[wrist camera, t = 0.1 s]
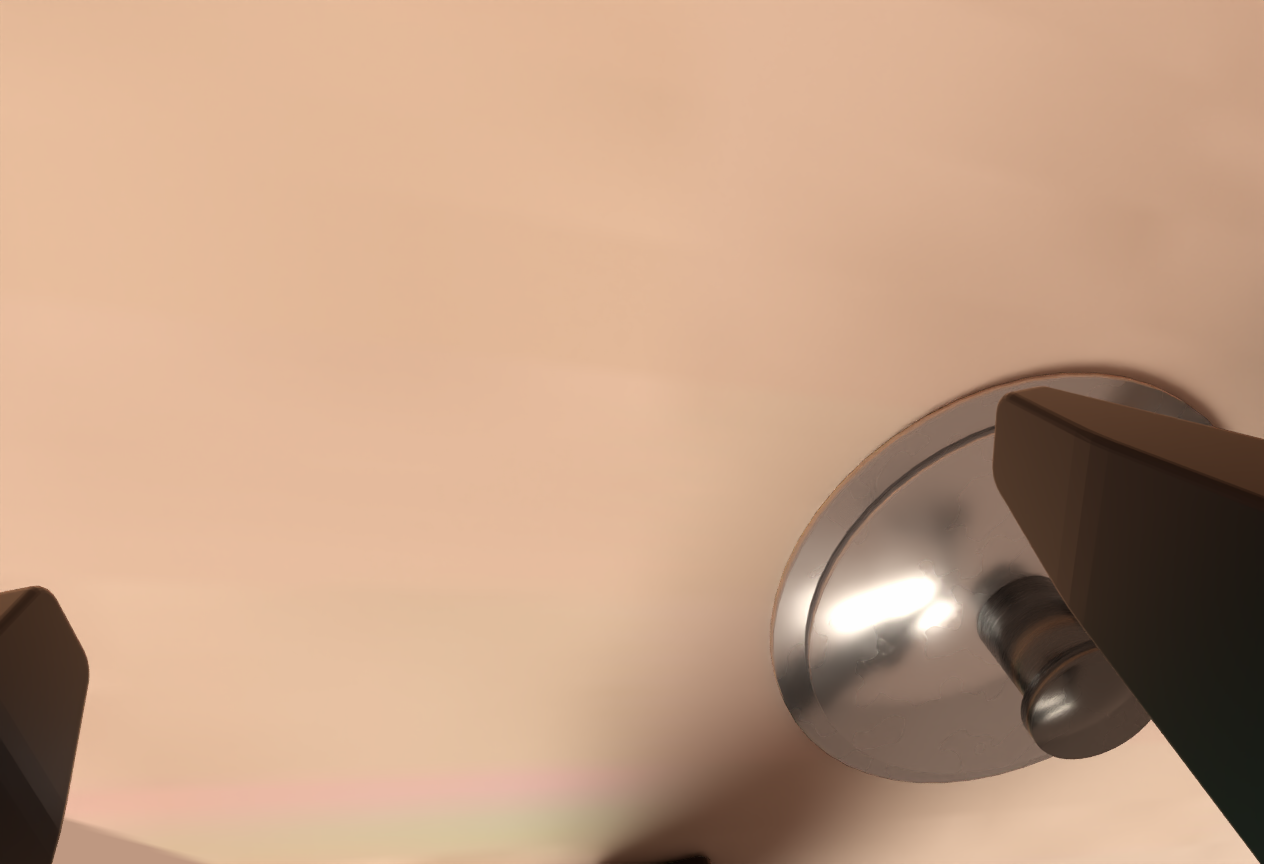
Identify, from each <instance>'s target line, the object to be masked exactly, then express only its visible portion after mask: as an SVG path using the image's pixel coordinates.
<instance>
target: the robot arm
mask: <svg viewBox="0 0 1264 864" xmlns="http://www.w3.org/2000/svg"><path fill="white" fill-rule="evenodd" d="M992 471H993V477H994V481H995V484H996V487H997V489H998V491H999V493H1000V495H1001V496H1002V498H1003V500H1004V501H1005V503H1006V505H1007V507H1008V508H1009V510H1010V512H1011V513H1012V515H1013V517H1014V518H1015V520H1016V522H1017V523H1018V525H1019V527H1020V529H1021V530H1022V532H1023V534H1024V535H1025V537H1026V539H1027V540H1028V542H1029V544H1030V546H1031V547H1032V549H1033V551H1034V552H1035V554H1036V556H1037V557H1038V559H1039V561H1040V562H1041V564H1042V566H1043V568H1044V569H1045V571H1046V573H1047V574H1048V576H1049V578H1050V579H1051V581H1052V583H1053V584H1054V586H1055V588H1056V590H1057V591H1058V593H1059V594H1060V596H1061V597H1062V599H1063V600H1064V602H1065V604H1066V605H1067V607H1068V608H1069V610H1070V611H1071V612H1072V614H1073V615H1074V617H1075V618H1076V619H1077V621H1078V622H1079V624H1080V625H1081V626H1082V628H1083V629H1084V631H1085V632H1086V633H1087V635H1088V636H1089V637H1090V638H1091V640H1092V641H1093V642H1094V644H1095V645H1096V646H1097V648H1098V649H1099V650H1100V652H1101V653H1102V654H1103V656H1104V657H1105V658H1106V660H1107V661H1108V662H1109V664H1110V665H1111V666H1112V668H1113V669H1114V670H1115V672H1116V673H1117V674H1118V676H1119V677H1120V678H1121V680H1122V681H1123V682H1124V684H1125V685H1126V686H1127V688H1128V689H1129V690H1130V692H1131V693H1132V694H1133V696H1134V697H1135V698H1136V699H1137V701H1138V702H1139V703H1140V705H1141V706H1142V707H1143V709H1144V710H1145V711H1146V713H1147V714H1148V715H1149V717H1150V718H1151V719H1152V721H1153V722H1154V723H1155V725H1156V726H1157V727H1158V729H1159V730H1160V731H1161V733H1162V734H1163V735H1164V737H1165V738H1166V739H1167V741H1168V742H1169V743H1170V745H1171V746H1172V747H1173V749H1174V750H1175V751H1176V753H1177V754H1178V755H1179V757H1180V758H1181V759H1182V760H1183V762H1184V763H1185V764H1186V766H1187V767H1188V768H1189V770H1190V771H1191V772H1192V774H1193V775H1194V776H1195V778H1196V779H1197V780H1198V782H1199V783H1200V784H1201V786H1202V787H1203V788H1204V790H1205V791H1206V792H1207V794H1208V795H1209V796H1210V798H1211V799H1212V800H1213V802H1214V803H1215V804H1216V806H1217V807H1218V808H1219V810H1220V811H1221V812H1222V814H1223V815H1224V816H1225V818H1226V819H1227V820H1228V822H1229V823H1230V824H1231V825H1232V827H1233V828H1234V829H1235V831H1236V832H1237V833H1238V835H1239V836H1240V837H1241V839H1242V840H1243V841H1244V843H1245V844H1246V845H1247V847H1248V848H1249V849H1250V851H1251V852H1252V853H1253V855H1254V856H1255V857H1256V859H1257V860H1258V861H1259V863H1260V864H1264V439H1261V438H1257V437H1253V436H1249V435H1245V434H1241V433H1236V432H1232V431H1228V430H1224V429H1220V428H1216V427H1212V426H1208V425H1203V424H1199V423H1195V422H1191V421H1187V420H1183V419H1179V418H1174V417H1170V416H1166V415H1162V414H1158V413H1154V412H1150V411H1146V410H1141V409H1137V408H1133V407H1129V406H1125V405H1121V404H1117V403H1113V402H1108V401H1104V400H1100V399H1096V398H1092V397H1088V396H1084V395H1079V394H1075V393H1071V392H1067V391H1063V390H1059V389H1055V388H1051V387H1046V386H1039V387H1033V388H1028V389H1023V390H1018V391H1013V392H1009V393H1006V394H1005V395H1004V396H1003V397H1002V398H1001V399H1000V400H999V403H998V405H997V410H996V421H995V434H994V447H993V460H992ZM88 684H89V665H88V660H87V657H86V654H85V652H84V649H83V648H82V646H81V644H80V642H79V640H78V638H77V636H76V635H75V633H74V631H73V629H72V627H71V625H70V623H69V621H68V620H67V618H66V616H65V614H64V612H63V610H62V608H61V607H60V605H59V603H58V601H57V599H56V598H55V596H54V595H53V594H52V593H51V592H50V591H49V590H48V589H46V588H43V587H41V586H30V587H25V588H20V589H15V590H10V591H5V592H0V864H52V862H53V858H54V854H55V851H56V847H57V844H58V840H59V836H60V833H61V828H62V824H63V819H64V815H65V810H66V805H67V800H68V794H69V789H70V783H71V778H72V772H73V767H74V761H75V755H76V750H77V744H78V739H79V733H80V728H81V722H82V717H83V711H84V706H85V700H86V695H87V689H88ZM669 864H711V861H710V859H708V858H707V857H702V856H701V857H694V858H690V859H686V860H682V861H677V862H673V863H669Z"/></svg>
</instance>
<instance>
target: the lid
mask: <svg viewBox="0 0 1264 864" xmlns="http://www.w3.org/2000/svg"><path fill="white" fill-rule="evenodd" d="M1039 386H1046V387H1051V388H1055V389H1059V390H1063V391H1067V392H1071V393H1075V394H1079V395H1084V396H1088V397H1092V398H1096V399H1100V400H1104V401H1108V402H1113V403H1117V404H1121V405H1125V406H1129V407H1133V408H1137V409H1141V410H1146V411H1150V412H1154V413H1158V414H1162V415H1166V416H1170V417H1174V418H1179V419H1183V420H1187V421H1191V422H1195V423H1199V424H1203V425H1208V426H1212V425H1211V423H1210V422H1209V421H1208V420H1207V419H1206V418H1205V417H1204V416H1202V415H1201V414H1200V413H1198V412H1197V411H1196V410H1194V409H1193V408H1192V407H1190V406H1189V405H1188V404H1186V403H1185V402H1183V401H1182V400H1180V399H1179V398H1177V397H1175V396H1173V395H1171V394H1169V393H1167V392H1165V391H1163V390H1161V389H1159V388H1157V387H1155V386H1153V385H1151V384H1147V383H1144V382H1140V381H1137V380H1134V379H1130V378H1127V377H1122V376H1115V375H1108V374H1100V373H1057V374H1050V375H1042V376H1035V377H1028V378H1024V379H1020V380H1016V381H1012V382H1008V383H1004V384H1000V385H996V386H993V387H990V388H987V389H985V390H982V391H979V392H977V393H974V394H971V395H969V396H966V397H964V398H961V399H958V400H956V401H954V402H952V403H950V404H948V405H946V406H944V407H942V408H940V409H938V410H937V411H935V412H933V413H931V414H929V415H927V416H925V417H923V418H922V419H920V420H918V421H917V422H915V423H914V424H912V425H911V426H909V427H908V428H906V429H904V430H903V431H901V432H900V433H898V434H897V435H895V436H893V437H892V438H891V439H890V440H888V441H887V442H886V443H885V444H883V445H882V446H881V447H880V448H878V449H877V450H876V451H875V452H873V453H872V454H871V455H870V456H868V457H867V458H866V459H865V460H863V461H862V462H861V463H860V464H859V465H858V466H857V467H856V468H855V469H854V470H853V471H852V472H851V473H850V474H849V475H848V476H847V477H846V478H845V479H844V480H843V481H842V482H841V483H840V484H839V485H838V486H837V487H836V489H835V490H834V491H833V492H832V493H831V495H830V496H829V497H828V498H827V500H826V501H825V502H824V503H823V504H822V506H821V507H820V508H819V509H818V511H817V512H816V513H815V515H814V516H813V518H812V519H811V521H810V523H809V524H808V526H807V527H806V529H805V530H804V532H803V533H802V535H801V536H800V538H799V540H798V541H797V544H796V546H795V548H794V550H793V552H792V554H791V556H790V558H789V560H788V562H787V564H786V566H785V568H784V571H783V574H782V577H781V580H780V583H779V586H778V589H777V593H776V596H775V601H774V606H773V612H772V618H771V624H770V652H771V658H772V665H773V672H774V675H775V678H776V681H777V684H778V687H779V690H780V693H781V695H782V698H783V700H784V702H785V704H786V706H787V708H788V709H789V711H790V713H791V715H792V716H793V718H794V720H795V722H796V723H797V724H798V726H799V727H800V728H801V729H802V730H803V732H804V733H805V734H806V735H807V736H808V737H809V739H810V740H811V741H813V742H814V743H815V744H816V745H817V746H819V747H820V748H821V749H822V750H823V751H825V752H826V753H827V754H829V755H830V756H832V757H834V758H835V759H837V760H839V761H840V762H842V763H844V764H846V765H847V766H850V767H853V768H855V769H858V770H860V771H863V772H865V773H868V774H871V775H875V776H879V777H883V778H887V779H891V780H898V781H907V782H915V783H948V782H958V781H969V780H974V779H980V778H985V777H990V776H995V775H999V774H1003V773H1006V772H1010V771H1013V770H1017V769H1020V768H1024V767H1027V766H1029V765H1032V764H1035V763H1037V762H1040V761H1042V760H1045V759H1048V758H1050V757H1053V756H1054V757H1057V758H1062V759H1082V758H1088V757H1092V756H1096V755H1099V754H1102V753H1104V752H1107V751H1109V750H1111V749H1114V748H1116V747H1118V746H1119V745H1121V744H1123V743H1124V742H1126V741H1127V740H1129V739H1130V738H1132V737H1133V736H1134V735H1136V734H1137V733H1138V732H1139V731H1140V730H1141V729H1142V728H1143V727H1145V726H1146V724H1147V723H1148V722H1149V721H1150V720H1151V718H1150V717H1149V715H1148V714H1147V713H1146V711H1145V710H1144V709H1143V707H1142V706H1141V705H1140V703H1139V702H1138V701H1137V699H1136V698H1135V697H1134V696H1133V694H1132V693H1131V692H1130V690H1129V689H1128V688H1127V686H1126V685H1125V684H1124V682H1123V681H1122V680H1121V678H1120V677H1119V676H1118V674H1117V673H1116V672H1115V670H1114V669H1113V668H1112V666H1111V665H1110V664H1109V662H1108V661H1107V660H1106V658H1105V657H1104V656H1103V654H1102V653H1101V652H1100V650H1099V649H1098V648H1097V646H1096V645H1095V644H1094V642H1093V641H1092V640H1091V638H1090V637H1089V636H1088V635H1087V633H1086V632H1085V631H1084V629H1083V628H1082V626H1081V625H1080V624H1079V622H1078V621H1077V619H1076V618H1075V617H1074V615H1073V614H1072V612H1071V611H1070V610H1069V608H1068V607H1067V605H1066V604H1065V602H1064V600H1063V599H1062V597H1061V596H1060V594H1059V593H1058V591H1057V590H1056V588H1055V586H1054V584H1053V583H1052V581H1051V579H1050V578H1049V576H1048V574H1047V573H1046V571H1045V569H1044V568H1043V566H1042V564H1041V562H1040V561H1039V559H1038V557H1037V556H1036V554H1035V552H1034V551H1033V549H1032V547H1031V546H1030V544H1029V542H1028V540H1027V539H1026V537H1025V535H1024V534H1023V532H1022V530H1021V529H1020V527H1019V525H1018V523H1017V522H1016V520H1015V518H1014V517H1013V515H1012V513H1011V512H1010V510H1009V508H1008V507H1007V505H1006V503H1005V501H1004V500H1003V498H1002V496H1001V495H1000V493H999V491H998V489H997V487H996V484H995V481H994V477H993V471H992V460H993V447H994V434H995V421H996V410H997V405H998V403H999V400H1000V399H1001V398H1002V397H1003V396H1004V395H1005V394H1006V393H1009V392H1013V391H1018V390H1023V389H1028V388H1033V387H1039ZM1212 427H1213V426H1212Z"/></svg>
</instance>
